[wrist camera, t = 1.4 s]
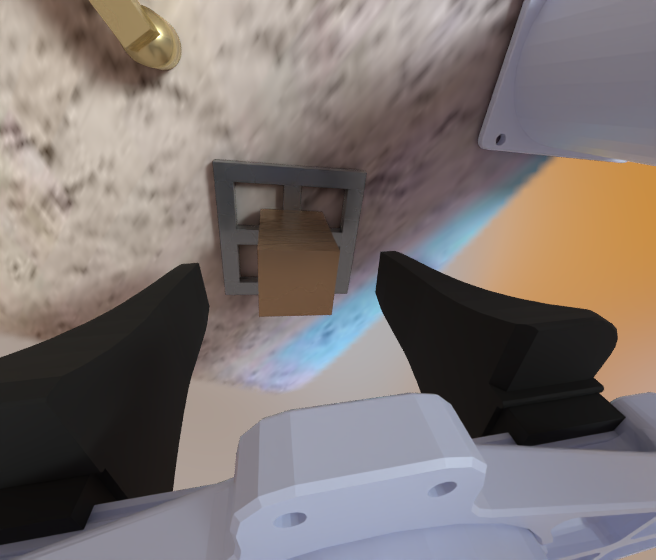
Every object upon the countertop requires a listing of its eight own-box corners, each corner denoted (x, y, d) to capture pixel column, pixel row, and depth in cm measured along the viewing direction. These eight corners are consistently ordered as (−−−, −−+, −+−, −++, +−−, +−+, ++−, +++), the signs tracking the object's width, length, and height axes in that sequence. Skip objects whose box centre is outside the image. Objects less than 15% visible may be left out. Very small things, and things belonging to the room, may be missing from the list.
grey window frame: (363, 170, 14) (402, 201, 10) (345, 288, 18) (368, 346, 14) (214, 158, 13) (188, 189, 9) (226, 288, 17) (212, 354, 12)
